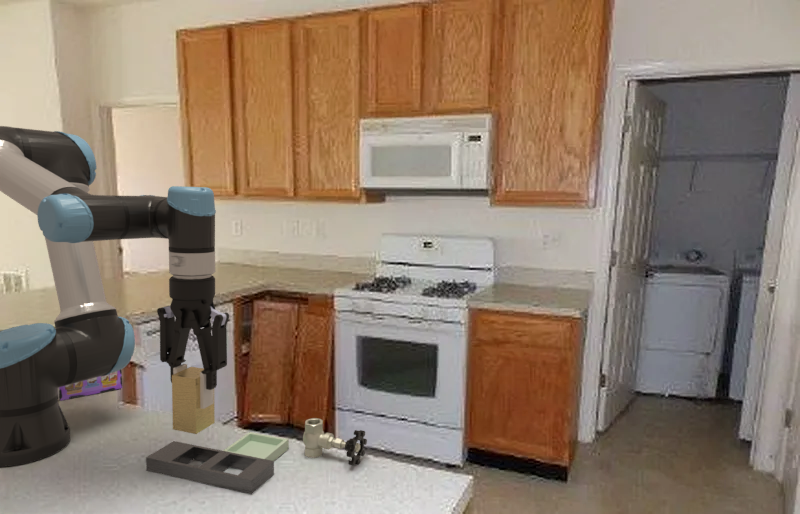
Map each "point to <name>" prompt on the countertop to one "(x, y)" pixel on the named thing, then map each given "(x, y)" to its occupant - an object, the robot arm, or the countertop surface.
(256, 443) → the tray
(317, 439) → the valve
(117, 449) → the countertop surface
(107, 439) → the countertop surface
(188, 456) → the grey slotted holder
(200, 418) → the wooden block
